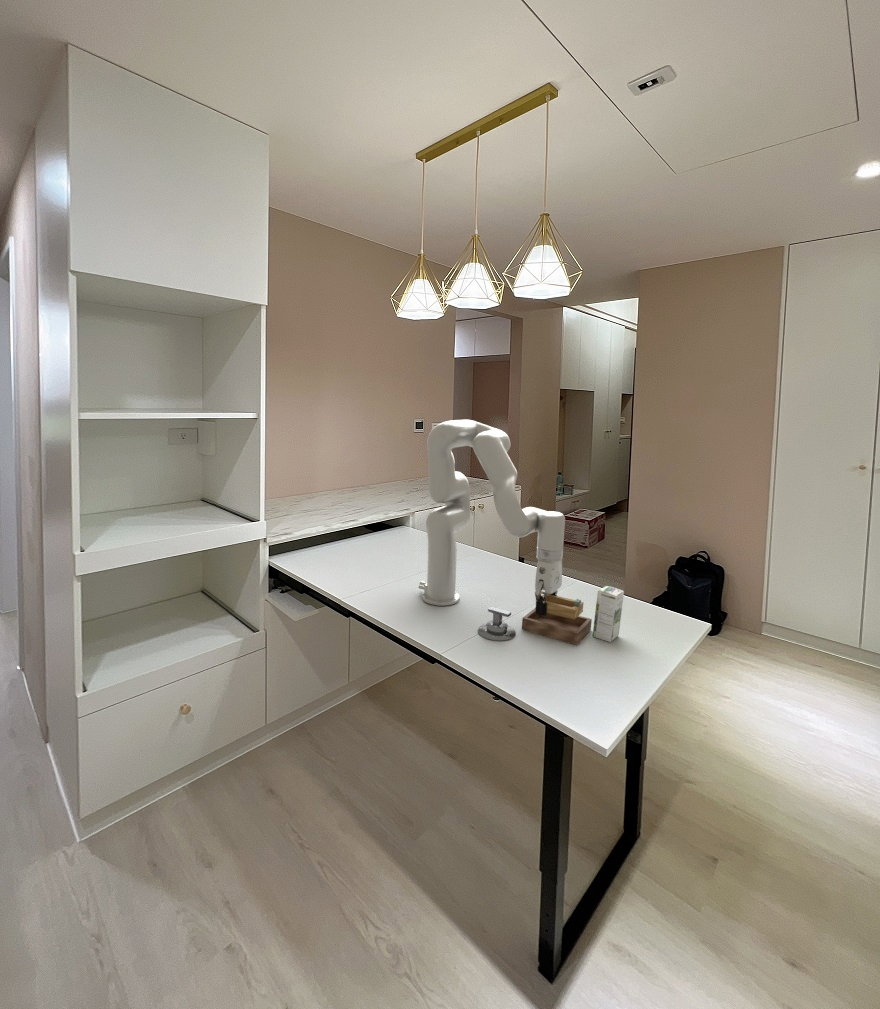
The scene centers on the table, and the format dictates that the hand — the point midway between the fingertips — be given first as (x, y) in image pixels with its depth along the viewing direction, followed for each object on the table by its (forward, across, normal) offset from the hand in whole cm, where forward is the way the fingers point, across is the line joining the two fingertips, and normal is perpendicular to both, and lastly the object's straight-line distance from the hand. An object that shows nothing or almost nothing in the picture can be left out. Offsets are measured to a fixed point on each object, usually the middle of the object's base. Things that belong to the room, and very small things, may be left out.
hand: (545, 609), depth 161 cm
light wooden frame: (-1, 0, -4) cm, 4 cm away
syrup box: (+6, +4, -17) cm, 19 cm away
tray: (+5, 0, -4) cm, 7 cm away
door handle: (+5, -12, +10) cm, 17 cm away
